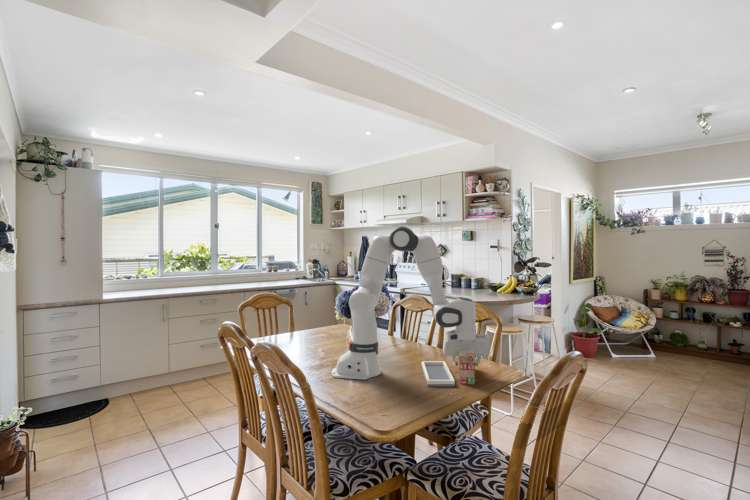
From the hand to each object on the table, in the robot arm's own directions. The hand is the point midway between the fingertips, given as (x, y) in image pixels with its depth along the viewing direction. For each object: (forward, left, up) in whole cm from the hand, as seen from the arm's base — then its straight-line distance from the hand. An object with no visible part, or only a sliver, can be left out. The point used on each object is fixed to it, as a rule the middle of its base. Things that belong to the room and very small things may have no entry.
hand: (466, 365), depth 163 cm
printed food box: (0, 0, -5) cm, 5 cm away
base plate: (-13, 0, -5) cm, 14 cm away
